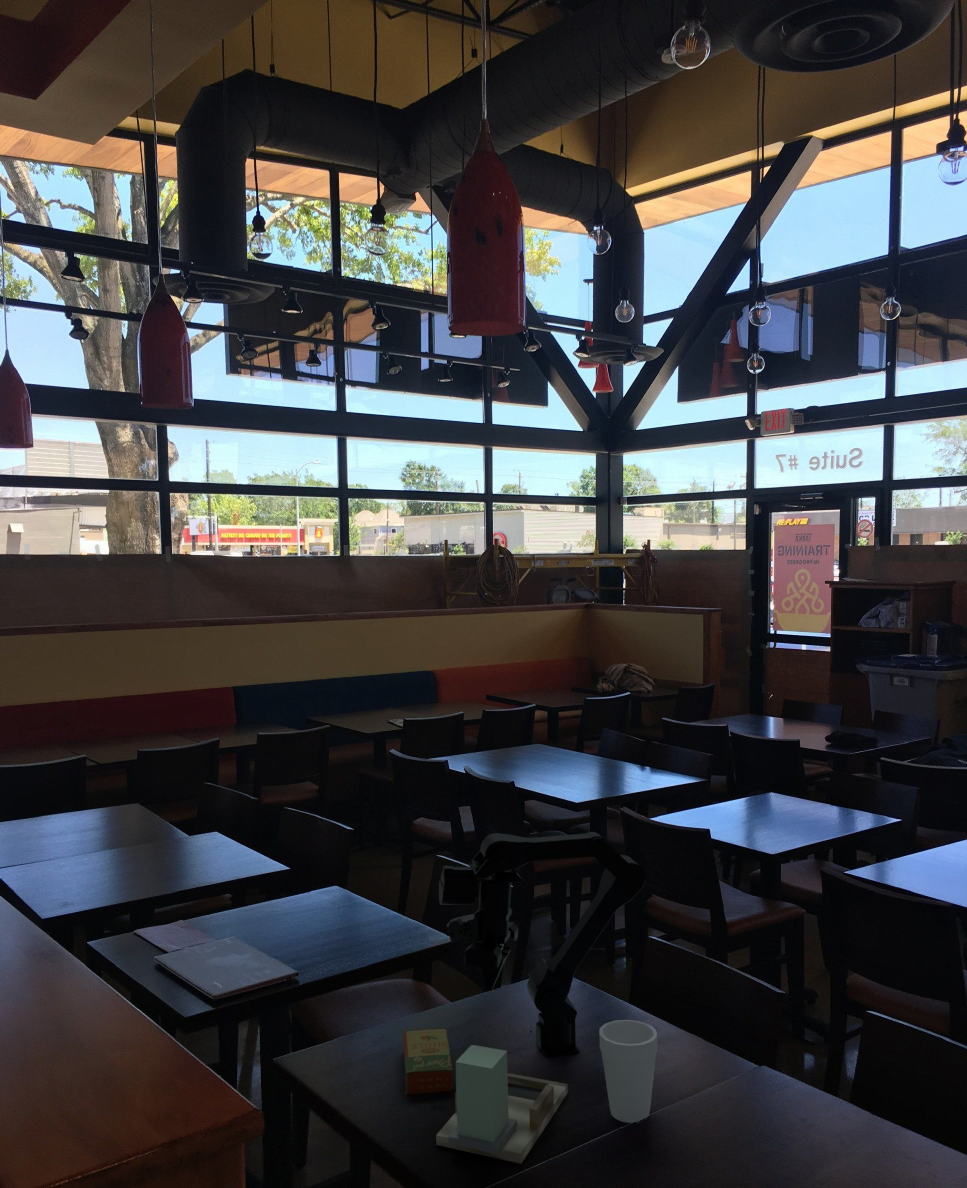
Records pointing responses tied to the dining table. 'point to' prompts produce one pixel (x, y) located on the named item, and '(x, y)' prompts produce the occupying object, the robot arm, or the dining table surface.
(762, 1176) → the dining table surface
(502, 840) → the robot arm
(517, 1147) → the track
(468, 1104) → the tall sage green block
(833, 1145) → the dining table surface
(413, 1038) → the carton
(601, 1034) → the foam cup
